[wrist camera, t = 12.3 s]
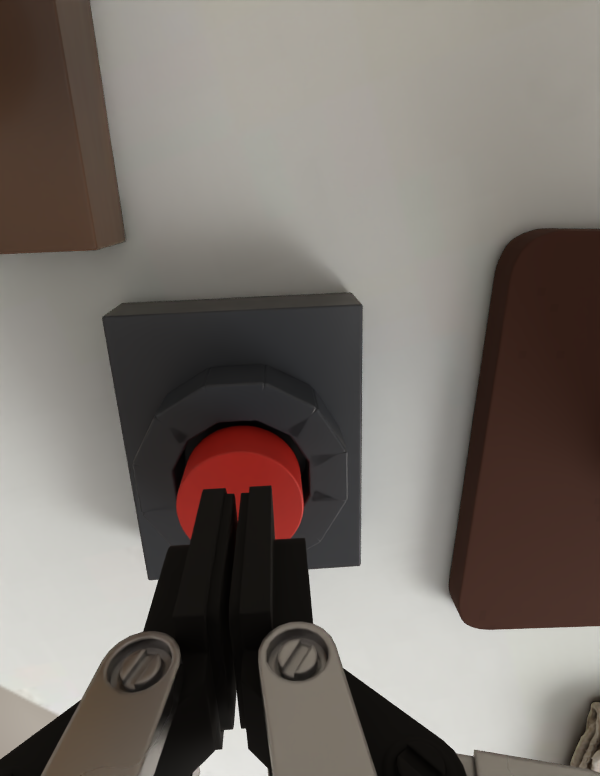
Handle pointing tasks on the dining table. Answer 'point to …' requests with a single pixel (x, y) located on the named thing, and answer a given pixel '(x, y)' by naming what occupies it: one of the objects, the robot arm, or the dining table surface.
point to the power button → (243, 475)
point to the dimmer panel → (54, 132)
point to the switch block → (243, 404)
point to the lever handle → (535, 443)
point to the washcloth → (589, 742)
